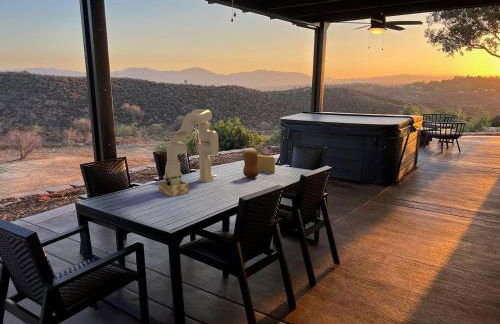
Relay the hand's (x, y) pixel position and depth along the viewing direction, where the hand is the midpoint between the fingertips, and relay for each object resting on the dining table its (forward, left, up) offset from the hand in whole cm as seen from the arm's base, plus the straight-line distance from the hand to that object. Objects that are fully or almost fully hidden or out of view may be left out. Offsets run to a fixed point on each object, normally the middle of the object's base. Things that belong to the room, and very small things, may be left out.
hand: (173, 185), depth 261 cm
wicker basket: (0, 0, -5) cm, 5 cm away
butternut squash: (-73, 0, -5) cm, 73 cm away
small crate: (0, 0, -2) cm, 2 cm away
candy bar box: (-15, -30, -5) cm, 34 cm away
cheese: (-101, -13, -5) cm, 102 cm away
